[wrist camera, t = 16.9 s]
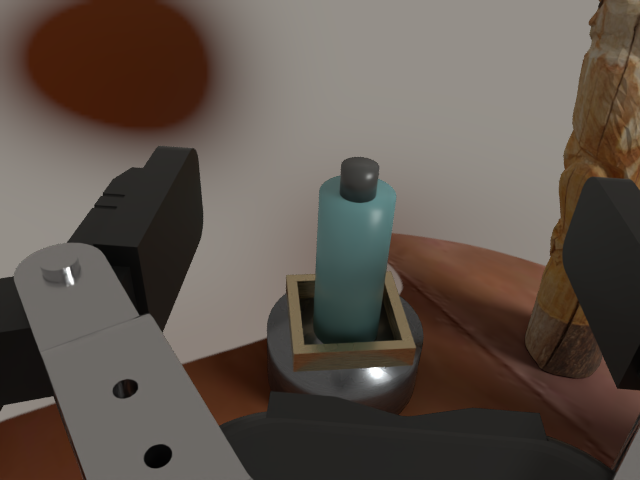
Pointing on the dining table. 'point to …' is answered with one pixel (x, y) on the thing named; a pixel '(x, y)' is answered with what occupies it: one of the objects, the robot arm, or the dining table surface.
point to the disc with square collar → (344, 351)
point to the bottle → (352, 252)
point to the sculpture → (582, 163)
